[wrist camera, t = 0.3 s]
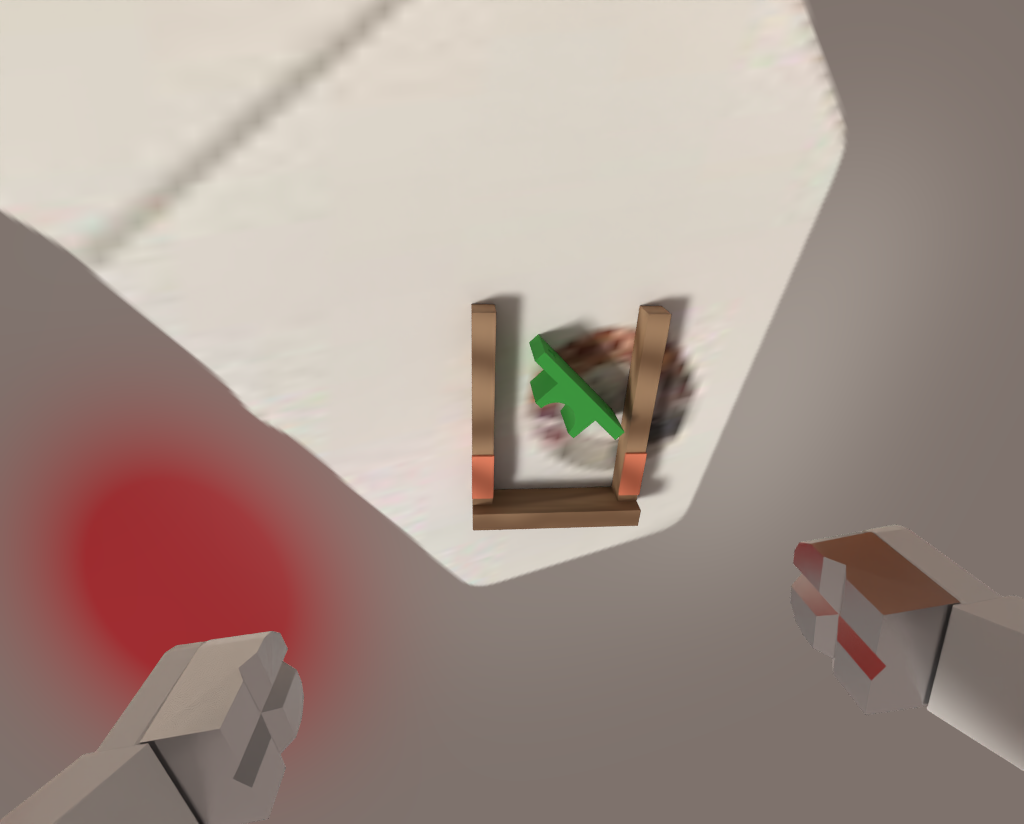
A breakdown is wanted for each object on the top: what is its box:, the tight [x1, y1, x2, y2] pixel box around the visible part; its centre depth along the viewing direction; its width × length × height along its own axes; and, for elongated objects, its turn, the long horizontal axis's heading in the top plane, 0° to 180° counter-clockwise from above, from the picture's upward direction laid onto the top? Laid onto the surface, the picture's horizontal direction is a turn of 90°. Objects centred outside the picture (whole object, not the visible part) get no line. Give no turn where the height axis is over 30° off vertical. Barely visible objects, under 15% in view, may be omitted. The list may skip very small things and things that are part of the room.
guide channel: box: [472, 304, 672, 530], centre depth 48 cm, size 22×17×4 cm
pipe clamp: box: [529, 335, 625, 440], centre depth 46 cm, size 11×4×5 cm, turn 43°
